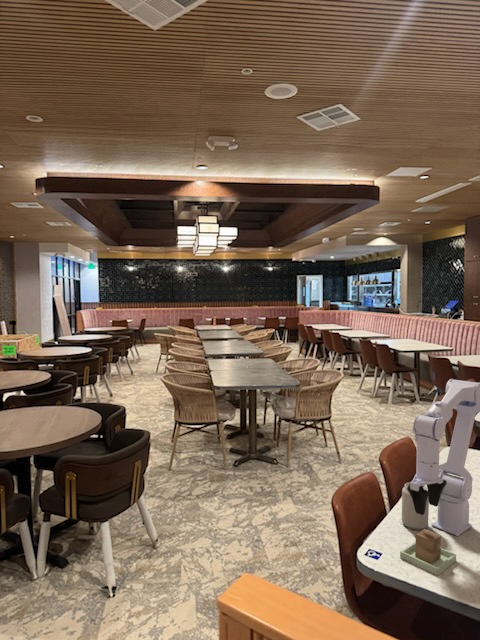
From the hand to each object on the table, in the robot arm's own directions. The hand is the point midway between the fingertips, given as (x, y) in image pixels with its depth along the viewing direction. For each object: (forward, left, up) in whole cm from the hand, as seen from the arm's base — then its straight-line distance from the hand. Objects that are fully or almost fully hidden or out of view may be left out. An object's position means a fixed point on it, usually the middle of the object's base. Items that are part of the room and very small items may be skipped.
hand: (426, 509), depth 124 cm
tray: (+6, +4, -10) cm, 12 cm away
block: (+6, +4, -10) cm, 12 cm away
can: (-9, -8, -11) cm, 16 cm away
